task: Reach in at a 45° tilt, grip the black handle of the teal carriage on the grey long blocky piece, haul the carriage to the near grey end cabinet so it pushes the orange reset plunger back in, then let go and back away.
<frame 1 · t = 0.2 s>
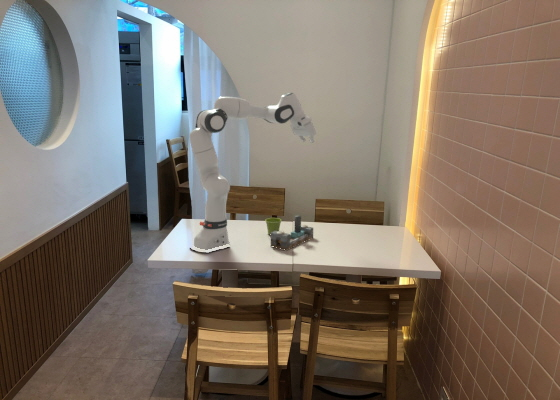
hand: (308, 141, 260), 53 cm above the table, tool tilted 25°, fingers open, 8 cm apart
plant pot: (273, 234, 267), on the table
reset plunger: (282, 240, 246), point 3 cm above the table, slide at 2.5 cm
carriage: (297, 226, 256), point 8 cm above the table, slide at 11.0 cm
grey long blocky piece: (292, 242, 254), on the table
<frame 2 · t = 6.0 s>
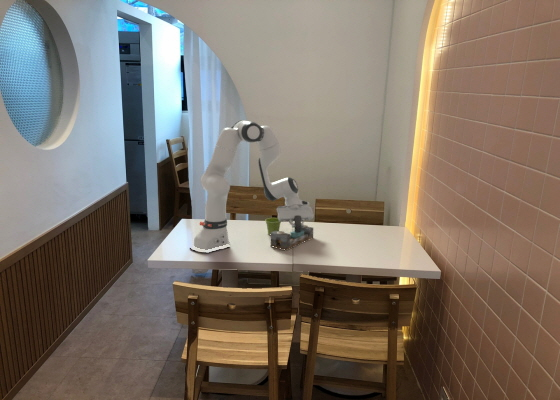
hand: (298, 226, 255), 8 cm above the table, tool tilted 45°, fingers closed on carriage, 4 cm apart
carriage: (297, 226, 256), point 8 cm above the table, slide at 11.0 cm, touching gripper
everything else where it was.
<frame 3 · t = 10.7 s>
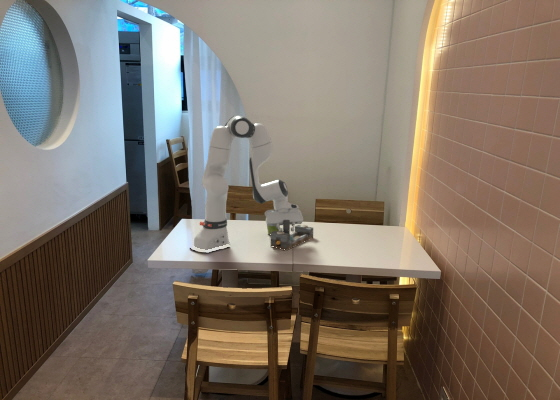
hand: (286, 231, 246), 8 cm above the table, tool tilted 45°, fingers open, 5 cm apart
reset plunger: (280, 241, 244), point 3 cm above the table, slide at 0.1 cm
carriage: (286, 231, 247), point 8 cm above the table, slide at 0.0 cm
everything else where it was.
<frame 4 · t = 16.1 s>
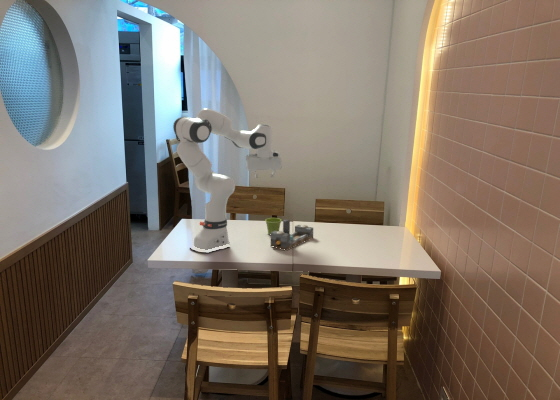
hand: (264, 177, 262), 33 cm above the table, tool pointing down, fingers open, 8 cm apart
nothing on the table moved.
at the end: carriage slide at 0.0 cm; reset plunger slide at 0.1 cm; the gripper is holding nothing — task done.
